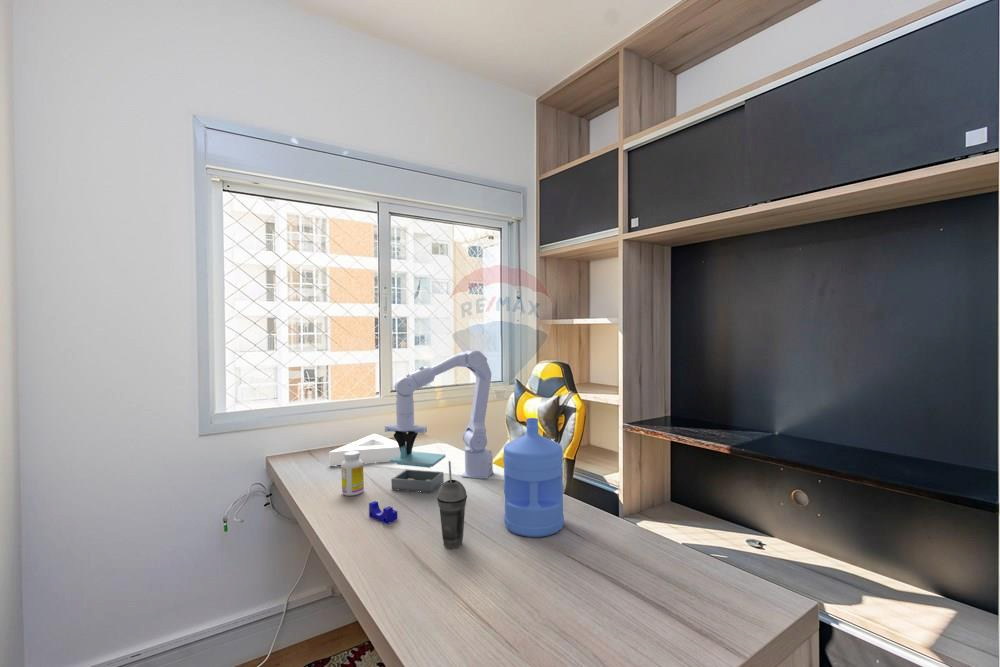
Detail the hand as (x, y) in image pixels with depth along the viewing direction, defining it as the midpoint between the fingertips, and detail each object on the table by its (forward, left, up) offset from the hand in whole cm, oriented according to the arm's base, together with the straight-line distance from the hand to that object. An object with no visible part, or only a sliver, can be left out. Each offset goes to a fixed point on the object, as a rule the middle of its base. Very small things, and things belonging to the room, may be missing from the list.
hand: (406, 453), depth 153 cm
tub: (-4, +1, -10) cm, 11 cm away
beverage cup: (-30, +36, -10) cm, 48 cm away
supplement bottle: (+14, +11, -10) cm, 20 cm away
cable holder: (-6, +26, -11) cm, 29 cm away
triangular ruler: (+31, -29, -11) cm, 44 cm away
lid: (-4, 0, -2) cm, 5 cm away
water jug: (-47, +21, -10) cm, 53 cm away
